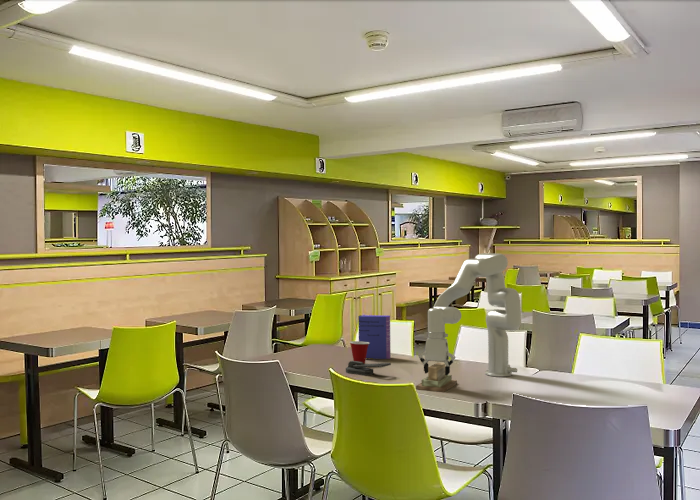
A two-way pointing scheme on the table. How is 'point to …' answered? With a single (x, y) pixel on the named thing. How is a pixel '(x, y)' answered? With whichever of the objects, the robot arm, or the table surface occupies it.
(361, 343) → the plastic cup
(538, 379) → the table surface
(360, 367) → the dark grey long piece
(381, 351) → the cereal box
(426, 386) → the notch board
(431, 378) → the tan rectangular block
